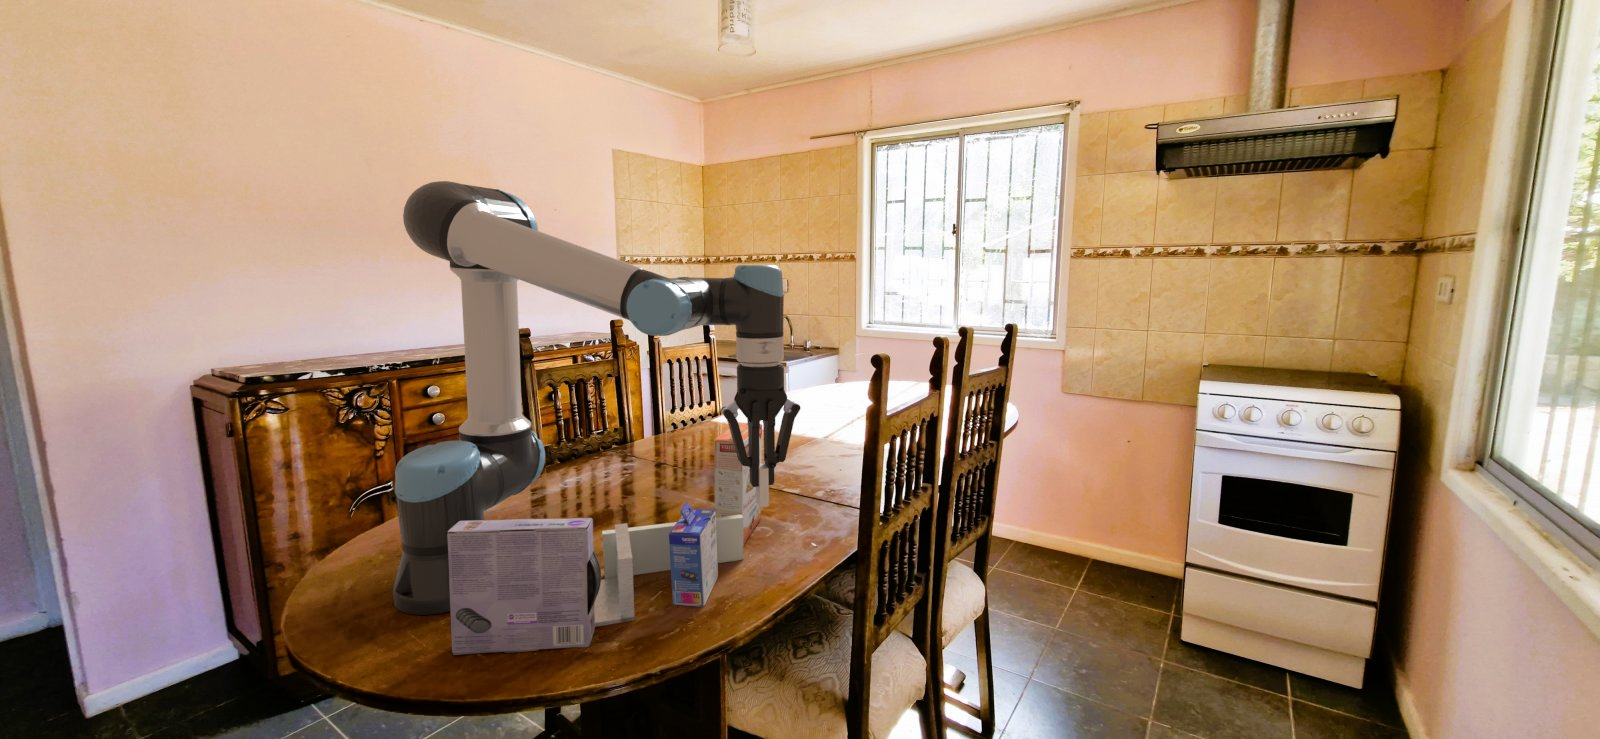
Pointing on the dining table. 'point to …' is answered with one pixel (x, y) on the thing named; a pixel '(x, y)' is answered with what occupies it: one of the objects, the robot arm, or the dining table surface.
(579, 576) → the cake pan box
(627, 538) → the bookend
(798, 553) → the dining table surface
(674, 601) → the ink cartridge box
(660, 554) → the back wall
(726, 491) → the cracker box
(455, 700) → the dining table surface
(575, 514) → the dining table surface
